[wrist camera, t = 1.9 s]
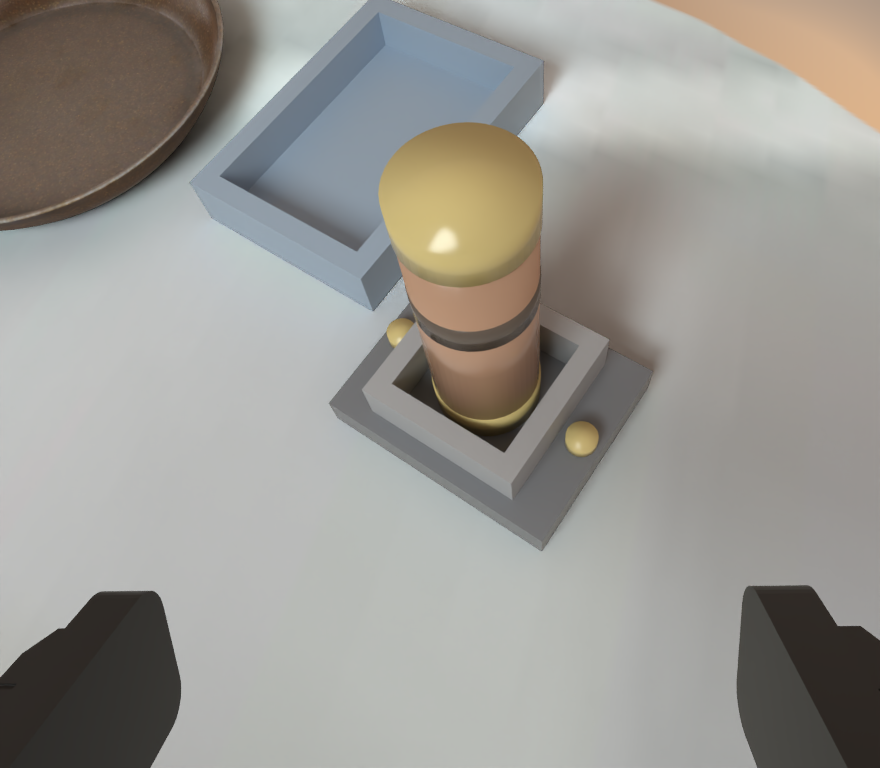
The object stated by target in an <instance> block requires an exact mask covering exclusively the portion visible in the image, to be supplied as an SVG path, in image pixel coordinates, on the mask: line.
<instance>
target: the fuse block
mask: <svg viewBox="0 0 880 768" xmlns="http://www.w3.org/2000/svg"><path fill="white" fill-rule="evenodd" d="M608 345H609V339H608V338H606V337H604V336H602V335H600V334H598V333H596V332H594V331H592V330H590V329H588V328H587V327H585V326H583V325H581V324H579V323H577V322H575V321H573V320H571V319H569V318H568V317H566V316H564V315H562V314H560V313H558V312H556V311H554V310H552V309H550V308H548V307H547V306H545V305H543V304H541V303H540V358H539V360H540V366H541V390H540V397H539V401H538V404H537V406H536V408H535V410H534V411H533V413H532V414H531V416H530V417H529V418H528V419H527V420H526V421H525V422H524V423H523V424H522V425H520V426H519V427H517V428H516V429H514V430H512V431H510V432H507V433H505V434H501V435H496V436H478V435H474V434H472V433H471V432H469V431H468V430H466V429H464V428H463V427H461V426H459V425H458V424H456V423H455V422H453V421H451V420H450V419H448V418H446V416H445V415H444V414H443V412H442V410H441V408H440V406H439V403H438V400H437V397H436V393H435V390H434V386H433V382H432V375H431V371H430V368H429V365H428V361H427V358H426V354H425V351H424V348H423V344H422V341H421V337H420V334H419V331H418V327H417V324H416V320H415V318H414V315H413V312H412V309H411V306H410V303H409V304H408V305H407V307H406V308H405V309H404V310H403V312H402V313H401V314H400V315H399V317H398V318H397V319H396V320H394V321H393V322H391V323H390V324H389V326H388V328H387V332H386V333H385V334H384V335H383V337H382V338H381V339H380V340H379V342H378V343H377V344H376V345H375V347H374V348H373V349H372V350H371V352H370V353H369V354H368V355H367V357H366V358H365V359H364V360H363V361H362V363H361V364H360V365H359V366H358V368H357V369H356V370H355V371H354V373H353V374H352V375H351V376H350V378H349V379H348V380H347V381H346V383H345V384H344V385H343V386H342V388H341V389H340V390H339V391H338V393H337V394H336V395H335V396H334V398H333V399H332V400H331V401H330V403H329V405H330V406H331V408H332V409H333V411H334V413H335V414H336V416H337V417H338V418H339V419H340V420H342V421H343V422H345V423H346V424H348V425H349V426H351V427H353V428H354V429H356V430H357V431H359V432H360V433H362V434H363V435H365V436H366V437H368V438H369V439H371V440H372V441H374V442H375V443H377V444H379V445H380V446H382V447H383V448H385V449H386V450H388V451H389V452H391V453H392V454H394V455H395V456H397V457H398V458H400V459H401V460H403V461H404V462H406V463H408V464H409V465H411V466H412V467H414V468H415V469H417V470H418V471H420V472H421V473H423V474H424V475H426V476H427V477H429V478H430V479H432V480H434V481H435V482H437V483H438V484H440V485H441V486H443V487H444V488H446V489H447V490H449V491H450V492H452V493H453V494H455V495H456V496H458V497H459V498H461V499H463V500H464V501H466V502H467V503H469V504H470V505H472V506H473V507H475V508H476V509H478V510H479V511H481V512H482V513H484V514H485V515H487V516H489V517H490V518H492V519H493V520H495V521H496V522H498V523H499V524H501V525H502V526H504V527H505V528H507V529H508V530H510V531H511V532H513V533H514V534H516V535H518V536H519V537H521V538H522V539H524V540H525V541H527V542H528V543H530V544H531V545H533V546H534V547H536V548H537V549H539V550H540V551H542V550H543V549H544V547H545V546H546V544H547V542H548V541H549V539H550V538H551V536H552V535H553V533H554V532H555V530H556V529H557V527H558V525H559V524H560V522H561V521H562V519H563V518H564V516H565V515H566V513H567V512H568V510H569V508H570V507H571V505H572V504H573V502H574V501H575V499H576V498H577V496H578V495H579V493H580V491H581V490H582V488H583V487H584V485H585V484H586V482H587V481H588V479H589V478H590V476H591V474H592V473H593V471H594V470H595V468H596V467H597V465H598V464H599V462H600V461H601V459H602V457H603V456H604V454H605V453H606V451H607V450H608V448H609V447H610V445H611V444H612V442H613V440H614V439H615V437H616V436H617V434H618V433H619V431H620V430H621V428H622V427H623V425H624V423H625V422H626V420H627V419H628V417H629V416H630V414H631V413H632V411H633V410H634V408H635V406H636V405H637V403H638V402H639V400H640V399H641V397H642V396H643V394H644V393H645V391H646V389H647V388H648V385H649V382H650V379H651V376H652V373H653V371H652V370H650V369H648V368H646V367H644V366H642V365H640V364H638V363H636V362H635V361H633V360H631V359H629V358H627V357H625V356H623V355H621V354H619V353H618V352H616V351H614V350H612V349H610V348H608Z"/></svg>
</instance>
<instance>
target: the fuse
mask: <svg viewBox="0 0 880 768" xmlns="http://www.w3.org/2000/svg"><path fill="white" fill-rule="evenodd" d="M378 195H379V204H380V208H381V211H382V215H383V218H384V221H385V225H386V228H387V232H388V235H389V238H390V242H391V245H392V248H393V250H394V252H395V254H396V256H397V259H398V262H399V266H400V269H401V272H402V276H403V279H404V283H405V288H406V292H407V295H408V299H409V302H410V306H411V309H412V312H413V315H414V318H415V320H416V324H417V327H418V331H419V334H420V337H421V341H422V344H423V348H424V351H425V354H426V358H427V361H428V365H429V368H430V371H431V375H432V382H433V386H434V390H435V393H436V397H437V400H438V403H439V406H440V408H441V410H442V412H443V414H444V415H445V416H446V418H448V419H450V420H451V421H453V422H455V423H456V424H458V425H459V426H461V427H463V428H464V429H466V430H468V431H469V432H471V433H472V434H474V435H478V436H496V435H501V434H505V433H507V432H510V431H512V430H514V429H516V428H517V427H519V426H520V425H522V424H523V423H524V422H525V421H526V420H527V419H528V418H529V417H530V416H531V414H532V413H533V411H534V410H535V408H536V406H537V404H538V401H539V397H540V390H541V366H540V360H539V358H540V296H541V266H540V234H541V230H542V215H543V176H542V171H541V167H540V164H539V162H538V159H537V158H536V156H535V154H534V152H533V151H532V150H531V149H530V147H529V146H528V145H527V144H526V143H525V142H524V141H522V140H521V139H520V138H519V137H517V136H516V135H514V134H512V133H511V132H509V131H507V130H505V129H502V128H499V127H496V126H493V125H489V124H483V123H475V122H462V123H452V124H446V125H442V126H438V127H435V128H432V129H430V130H427V131H425V132H423V133H421V134H419V135H417V136H415V137H414V138H412V139H411V140H409V141H408V142H406V143H405V144H404V145H403V146H401V147H400V148H399V149H398V150H397V151H396V152H395V154H394V155H393V156H392V157H391V159H390V160H389V161H388V163H387V165H386V167H385V168H384V171H383V173H382V176H381V179H380V183H379V192H378Z"/></svg>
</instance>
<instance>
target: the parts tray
mask: <svg viewBox="0 0 880 768" xmlns="http://www.w3.org/2000/svg"><path fill="white" fill-rule="evenodd" d="M543 94H544V61H543V60H541V59H538V58H535V57H533V56H530V55H528V54H525V53H523V52H520V51H518V50H515V49H513V48H510V47H508V46H505V45H503V44H500V43H498V42H495V41H493V40H490V39H488V38H485V37H482V36H480V35H477V34H475V33H472V32H470V31H467V30H465V29H462V28H460V27H457V26H455V25H452V24H450V23H447V22H445V21H442V20H440V19H437V18H434V17H432V16H429V15H427V14H424V13H422V12H419V11H417V10H414V9H412V8H409V7H407V6H404V5H402V4H399V3H397V2H394V1H392V0H368V2H367V3H366V4H365V5H364V6H363V7H362V8H361V9H360V10H359V11H358V12H357V13H356V14H355V15H354V16H353V17H352V18H351V19H350V20H349V21H348V22H347V23H346V24H345V25H344V26H343V27H342V28H341V29H340V30H339V31H338V32H337V33H336V34H335V35H334V36H333V37H332V38H331V39H330V40H329V41H328V42H327V43H326V44H325V45H324V46H323V47H322V48H321V49H320V50H319V51H318V52H317V53H316V54H315V55H314V56H313V57H312V58H311V59H310V60H309V62H308V63H307V64H306V65H305V66H304V67H303V68H302V69H301V70H300V71H299V72H298V73H297V74H296V75H295V76H294V77H293V78H292V79H291V80H290V81H289V82H288V83H287V84H286V85H285V86H284V87H283V88H282V89H281V90H280V91H279V92H278V93H277V94H276V95H275V96H274V97H273V98H272V99H271V100H270V101H269V102H268V103H267V104H266V105H265V106H264V107H263V108H262V109H261V110H260V111H259V112H258V113H257V114H256V115H255V116H254V117H253V118H252V119H251V120H250V122H249V123H248V124H247V125H246V126H245V127H244V128H243V129H242V130H241V131H240V132H239V133H238V134H237V135H236V136H235V137H234V138H233V139H232V140H231V141H230V142H229V143H228V144H227V145H226V146H225V147H224V148H223V149H222V150H221V151H220V152H219V153H218V154H217V155H216V156H215V157H214V158H213V159H212V160H211V161H210V162H209V163H208V164H207V165H206V166H205V167H204V168H203V169H202V170H201V171H200V172H199V173H198V174H197V175H196V176H195V177H194V178H193V179H192V180H191V182H190V184H191V186H192V187H193V189H194V190H195V192H196V194H197V195H198V197H199V198H200V200H201V202H202V203H203V205H204V206H205V208H206V210H207V211H208V213H209V214H210V216H211V218H213V219H215V220H216V221H218V222H220V223H221V224H223V225H225V226H227V227H228V228H230V229H232V230H234V231H235V232H237V233H239V234H240V235H242V236H244V237H246V238H247V239H249V240H251V241H253V242H254V243H256V244H258V245H259V246H261V247H263V248H265V249H266V250H268V251H270V252H271V253H273V254H275V255H277V256H278V257H280V258H282V259H284V260H285V261H287V262H289V263H290V264H292V265H294V266H296V267H297V268H299V269H301V270H303V271H304V272H306V273H308V274H309V275H311V276H313V277H315V278H316V279H318V280H320V281H322V282H323V283H325V284H327V285H328V286H330V287H332V288H334V289H335V290H337V291H339V292H340V293H342V294H344V295H346V296H347V297H349V298H351V299H353V300H354V301H356V302H358V303H359V304H361V305H363V306H365V307H366V308H368V309H370V310H372V311H374V309H375V308H376V307H377V306H378V304H379V303H380V302H381V301H382V300H383V298H384V297H385V296H386V295H387V293H388V292H389V291H390V290H391V289H392V287H393V286H394V285H395V284H396V283H397V281H398V280H399V279H400V278H401V276H402V272H401V269H400V266H399V262H398V259H397V256H396V254H395V252H394V250H393V248H392V245H391V242H390V238H389V235H388V232H387V228H386V225H385V221H384V218H383V215H382V211H381V208H380V204H379V195H378V192H379V183H380V179H381V176H382V173H383V171H384V168H385V167H386V165H387V163H388V161H389V160H390V159H391V157H392V156H393V155H394V154H395V152H396V151H397V150H398V149H399V148H400V147H401V146H403V145H404V144H405V143H406V142H408V141H409V140H411V139H412V138H414V137H415V136H417V135H419V134H421V133H423V132H425V131H427V130H430V129H432V128H435V127H438V126H442V125H446V124H452V123H462V122H475V123H483V124H489V125H493V126H496V127H499V128H502V129H505V130H507V131H509V132H511V133H512V134H514V135H516V136H517V135H518V134H519V132H520V131H521V130H522V129H523V127H524V126H525V125H526V124H527V123H528V121H529V120H530V119H531V118H532V116H533V115H534V114H535V113H536V112H537V110H538V109H539V108H540V107H541V105H542V104H543Z"/></svg>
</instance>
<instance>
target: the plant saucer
mask: <svg viewBox="0 0 880 768" xmlns="http://www.w3.org/2000/svg"><path fill="white" fill-rule="evenodd" d="M222 47H223V20H222V15H221V11H220V7H219V4H218V2H217V0H0V231H2V230H14V229H21V228H27V227H33V226H39V225H43V224H47V223H51V222H56V221H59V220H63V219H66V218H69V217H72V216H75V215H78V214H81V213H83V212H86V211H88V210H91V209H93V208H96V207H98V206H100V205H102V204H104V203H106V202H108V201H110V200H112V199H113V198H115V197H117V196H119V195H120V194H122V193H124V192H126V191H127V190H129V189H130V188H132V187H133V186H135V185H136V184H137V183H139V182H140V181H141V180H143V179H144V178H145V177H147V176H148V175H149V174H150V173H152V172H153V171H154V170H155V169H156V168H157V167H159V166H160V165H161V164H162V163H163V162H164V161H165V160H166V159H167V158H168V157H169V156H170V155H171V153H172V152H173V151H174V150H175V149H176V148H177V147H178V146H179V144H180V143H181V142H182V141H183V139H184V138H185V137H186V135H187V134H188V133H189V131H190V130H191V129H192V127H193V126H194V124H195V122H196V121H197V119H198V117H199V116H200V114H201V112H202V110H203V108H204V107H205V104H206V102H207V100H208V98H209V96H210V94H211V91H212V89H213V86H214V83H215V80H216V77H217V73H218V69H219V65H220V61H221V54H222Z"/></svg>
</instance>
